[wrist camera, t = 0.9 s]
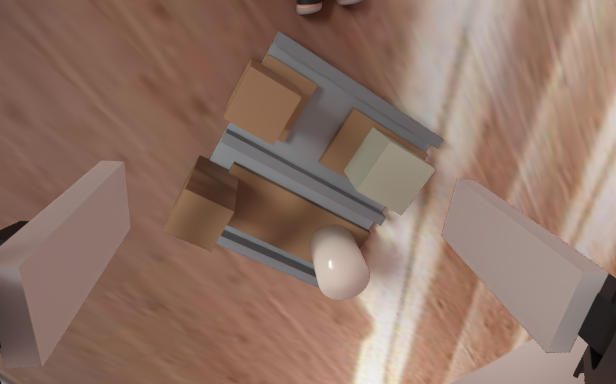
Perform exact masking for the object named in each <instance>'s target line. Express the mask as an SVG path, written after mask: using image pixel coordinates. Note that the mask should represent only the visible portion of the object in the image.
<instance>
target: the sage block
mask: <svg viewBox="0 0 616 384" xmlns="http://www.w3.org/2000/svg"><path fill="white" fill-rule="evenodd" d="M435 170H436V169H435V168H433V167H432V166H431V165H430V164H428V163H427V162H426V161H424V160H423V159H422V158H421V157H419V156H418V155H417V154H415V153H414V152H413V151H411V150H410V149H408V148H406V147H405V146H403V145H402V144H400V143H398V142H397V141H395V140H394V139H392V138H390V137H389V136H387V135H386V134H384V133H382V132H381V131H379V130H377V129H376V128H374V127H373V128H372V129H371V131H370V132H369V134H368V135H367V137H366V138H365V140H364V141H363V143H362V144H361V146H360V147H359V149H358V150H357V152H356V153H355V155H354V156H353V158H352V159H351V161H350V162H349V164H348V165H347V167H346V168H345V170H344V172H345V174H346V175H347V177H348V178H349V180H350V182H351V183H352V185H353V186H354V188H355V190H356V191H357V192H359V193H361V194H363V195H365V196H366V197H368V198H370V199H372V200H374V201H376V202H377V203H379V204H381V205H383V206H385V207H387V208H388V209H390V210H392V211H394V212H396V213H398V214H399V215H402V214H403V213H404V211H405V210H406V209H407V207H408V206H409V205H410V203H411V202H412V201H413V199H414V198H415V197H416V195H417V194H418V193H419V191H420V190H421V189H422V187H423V186H424V185H425V183H426V182H427V181H428V179H429V178H430V177H431V175H432V174H433V173H434V171H435Z"/></svg>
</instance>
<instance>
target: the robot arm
mask: <svg viewBox="0 0 616 384" xmlns="http://www.w3.org/2000/svg"><path fill="white" fill-rule="evenodd" d="M129 230H130V219H129V209H128V198H127V188H126V177H125V167H124V162H119V161H100V162H99V163H98V164H97V165H96V166H94V167H93V168H92V169H91V170H90V171H89V172H87V173H86V174H85V175H84V176H83V177H81V178H80V179H79V180H78V181H77V182H76V183H74V184H73V185H72V186H71V187H70V188H68V189H67V190H66V191H65V192H64V193H63V194H61V195H60V196H59V197H58V198H57V199H55V200H54V201H53V202H52V203H51V204H50V205H48V206H47V207H46V208H45V209H44V210H42V211H41V212H40V213H39V214H38V215H37V216H35V217H34V218H33V219H32V220H31V221H19V222H17V223H15V224H13V225H11V226H8V227H6V228H4V229H2V230H0V351H1V355H2V358H3V362H4V365H5V368H34V367H43V365H44V364H45V362H46V361H47V359H48V357H49V356H50V354H51V353H52V351H53V350H54V348H55V346H56V345H57V343H58V342H59V340H60V339H61V337H62V335H63V334H64V332H65V331H66V329H67V327H68V326H69V324H70V323H71V321H72V320H73V318H74V316H75V315H76V313H77V312H78V310H79V309H80V307H81V305H82V304H83V302H84V301H85V299H86V298H87V296H88V294H89V293H90V291H91V290H92V288H93V286H94V285H95V283H96V282H97V280H98V279H99V277H100V275H101V274H102V272H103V271H104V269H105V268H106V266H107V264H108V263H109V261H110V260H111V258H112V256H113V255H114V253H115V252H116V250H117V249H118V247H119V245H120V244H121V242H122V241H123V239H124V238H125V236H126V234H127V233H128V231H129ZM442 237H443V238H444V240H445V241H446V242H447V243H448V244H449V245H450V246H451V247H452V248H453V250H454V251H455V252H456V253H457V254H458V255H459V256H460V257H461V258H462V260H463V261H464V262H465V263H466V264H467V265H468V266H469V267H470V269H471V270H472V271H473V272H474V273H475V274H476V275H477V276H478V277H479V279H480V280H481V281H482V282H483V283H484V284H485V285H486V286H487V287H488V289H489V290H490V291H491V292H492V293H493V294H494V295H495V296H496V297H497V299H498V300H499V301H500V302H501V303H502V304H503V305H504V306H505V307H506V309H507V310H508V311H509V312H510V313H511V314H512V315H513V316H514V317H515V319H516V320H517V321H518V322H519V323H520V324H521V325H522V326H523V328H524V329H525V330H526V331H527V332H528V333H529V334H530V335H531V336H532V338H533V339H534V340H535V341H536V342H537V343H538V344H539V345H540V346H541V347H542V349H543V350H544V351H545V352H546V353H556V352H557V353H559V352H560V353H561V352H570V351H571V349H572V347H573V345H574V343H575V341H576V339H577V337H578V335H579V336H580V337H581V338H582V339H583V340H584V341H585V342H587V344H588V346H587V349H586V350H585V352H584V354H583V356H582V358H581V360H580V362H579V364H578V366H577V368H576V370H575V372H574V374H573V376H574V377H576V378H578V376H579V374H580V373H584V376H585V380H584V381H585V384H616V278H615V277H613V276H612V275H610V274H609V272H607V271H606V270H604V269H603V268H601V267H600V266H599V265H597V264H596V263H594V262H593V261H591V260H590V259H588V258H587V257H585V256H584V255H583V254H581V253H580V252H578V251H577V250H575V249H574V248H572V247H571V246H569V245H568V244H567V243H565V242H564V241H562V240H561V239H559V238H558V237H556V236H555V235H553V234H552V233H551V232H549V231H548V230H546V229H545V228H543V227H542V226H540V225H539V224H538V223H536V222H535V221H533V220H532V219H530V218H529V217H527V216H526V215H524V214H523V213H522V212H520V211H519V210H517V209H516V208H514V207H513V206H511V205H510V204H508V203H507V202H506V201H504V200H503V199H501V198H500V197H498V196H497V195H495V194H494V193H492V192H491V191H490V190H488V189H487V188H485V187H484V186H482V185H481V184H479V183H478V182H476V181H475V180H471V179H457V181H456V184H455V188H454V192H453V195H452V199H451V203H450V206H449V210H448V214H447V217H446V221H445V225H444V228H443V232H442ZM0 384H1V382H0Z"/></svg>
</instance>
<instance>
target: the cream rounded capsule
mask: <svg viewBox="0 0 616 384" xmlns="http://www.w3.org/2000/svg"><path fill="white" fill-rule="evenodd" d="M309 248H310V253H311V257H312V261H313V265H314V269H315V273H316V277H317V281H318V285H319V288H320V290H321V292H322V293H323V294H324V295H326V296H327V297H329V298H331V299H335V300H346V299H350V298H353V297H355V296H357V295H358V294H360V293H361V292H362V291H363V290H364V289H365V288H366V286H367V284H368V282H369V278H370V272H369V269H368V267H367V265H366V262H365V260H364V258H363V256H362V254H361V252H360V250H359V248H358V245H357V243H356V241H355V239H354V237H353V235H352V233H351V232H350V230H349V229H347V228H346V227H344V226H342V225H337V224H330V225H326V226H323V227H321V228H320V229H318V230H317V231H316V232H315V233H314V234H313V236H312V237H311V240H310V244H309Z"/></svg>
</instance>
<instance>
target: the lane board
mask: <svg viewBox="0 0 616 384" xmlns="http://www.w3.org/2000/svg"><path fill="white" fill-rule="evenodd" d="M223 119H225V120H227V121H229V122H230V123H229V124H228V126H227V128H226V130H225V132H224V134H223V136H222V137H221V139H220V141H219V143H218V145H217V147H216V149H215V150H214V152H213V154H212V156H211V158H210V161H212V162H214V163H216V164H218V165H220V166H222V167H224V168H226V169H228V170H230V168H231V166H232V164H233V162H234V161H235V162H236V163H238V164H240V165H242V166H244V167H246V168H248V169H250V170H252V171H254V172H256V173H258V174H260V175H262V176H264V177H266V178H268V179H270V180H272V181H274V182H276V183H278V184H279V185H281V186H283V187H285V188H287V189H289V190H291V191H293V192H295V193H297V194H299V195H301V196H303V197H305V198H307V199H309V200H311V201H313V202H315V203H317V204H319V205H320V206H322V207H324V208H326V209H328V210H330V211H332V212H334V213H336V214H338V215H340V216H342V217H344V218H346V219H348V220H350V221H352V222H354V223H356V224H358V225H360V226H362V227H363V228H365V229H367V230H368V229H369V228H370V227H371V225H372V224H373V223H374V222H375V223H376V224H378V225H380V226H381V224H382V223H383V222H384V220H385V219H386V217H385V216H384V214H383V213H382V210H383V209H384V208H385V206H383V205H381V204H379V203H377V202H376V201H374V200H372V199H370V198H368V197H366V196H365V195H363V194H361V193H359V192H357V191H356V190H355V188H354V186H353V185H352V183H351V182H350V180H349V178H348V177H347V175H346V174H345V172H344V170H345V168H346V167H347V165H348V164H349V162H350V161H351V159H352V158H353V156H354V155H355V153H356V152H357V150H358V149H359V147H360V146H361V144H362V143H363V141H364V140H365V138H366V137H367V135H368V134H369V132H370V131H371V129H372V128H373V127H374V128H376V129H377V130H379V131H381V132H382V133H384V134H386V135H387V136H389V137H390V138H392V139H394V140H395V141H397V142H398V143H400V144H402V145H403V146H405V147H406V148H408V149H410V150H411V151H413V152H414V153H415V154H417V155H418V156H419V157H421V158H422V159H423V160H425V158H426V157H427V155H428V154H426V153H425V151H426V150H427V148H428V147H429V146H430V144H431V145H433V146H434V147H436V148H438V147H439V146H440V144H441V143H442V141H443V140H444V139H442V138H441V137H439V136H438V135H436V134H435V133H433V132H432V131H430V130H429V129H427V128H426V127H424V126H422V125H421V124H419V123H418V122H416V121H415V120H413V119H412V118H410V117H409V116H407V115H406V114H404V113H403V112H401V111H400V110H398V109H397V108H395V107H394V106H392V105H391V104H389V103H388V102H386V101H385V100H383V99H382V98H380V97H379V96H377V95H375V94H374V93H372V92H371V91H369V90H368V89H366V88H365V87H363V86H362V85H360V84H359V83H357V82H356V81H354V80H353V79H351V78H350V77H348V76H347V75H345V74H344V73H342V72H341V71H339V70H338V69H336V68H335V67H333V66H331V65H330V64H328V63H327V62H325V61H324V60H322V59H321V58H319V57H318V56H316V55H315V54H313V53H312V52H310V51H309V50H307V49H306V48H304V47H303V46H301V45H300V44H298V43H297V42H295V41H294V40H292V39H291V38H289V37H287V36H286V35H284V34H283V33H281V32H278V33H277V35H276V37H275V39H274V41H273V43H272V45H271V46H270V48H269V50H268V52H267V54H266V56H265V58H264V59H263V61H262V63H260V62H258V61H256V60H255V59H253V58H252V57H251V59H250V61H249V63H248V65H247V67H246V69H245V71H244V73H243V75H242V76H241V78H240V80H239V82H238V84H237V86H236V88H235V90H234V92H233V93H232V95H231V97H230V99H229V102H228V105H227V108H226V110H225V113H224V116H223ZM216 244H218V245H221V246H223V247H225V248H227V249H230V250H232V251H234V252H237V253H239V254H241V255H244V256H246V257H248V258H251V259H253V260H255V261H258V262H260V263H262V264H265V265H267V266H269V267H272V268H274V269H276V270H279V271H281V272H283V273H286V274H288V275H290V276H293V277H295V278H297V279H300V280H302V281H304V282H307V283H309V284H311V285H314V286H316V287H318V288H319V285H318V281H317V277H316V273H315V269H314V265H313V264H312V263H310V262H308V261H306V260H303V259H301V258H299V257H297V256H294V255H292V254H290V253H288V252H286V251H283V250H281V249H279V248H277V247H274V246H272V245H270V244H268V243H266V242H263V241H261V240H259V239H257V238H254V237H252V236H250V235H248V234H246V233H243V232H241V231H239V230H237V229H234V228H232V227H230V226H228V225H226V227H225V229H224V231H223V232H222V234H221V236H220V237H219V239H218V241H217V242H216Z"/></svg>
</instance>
